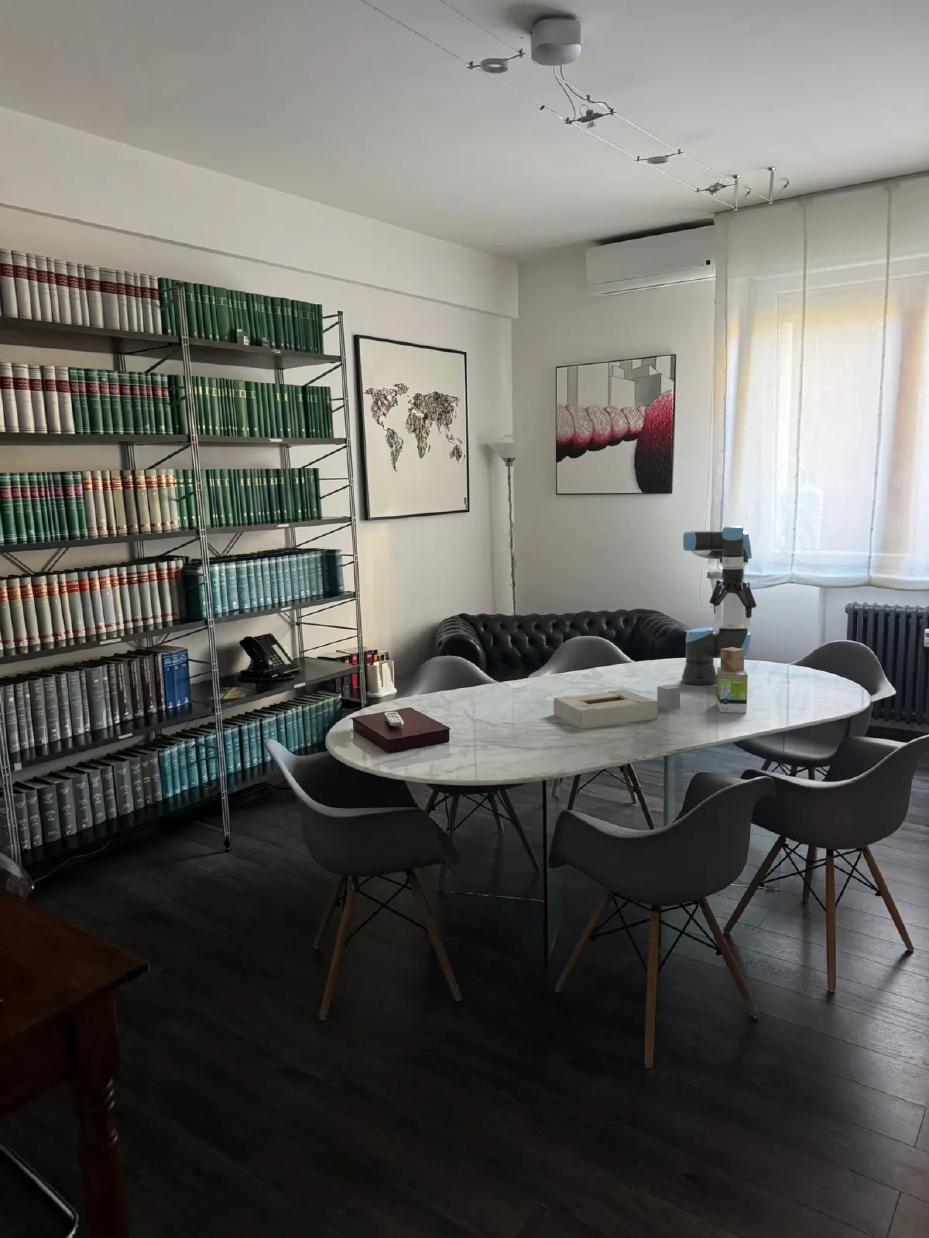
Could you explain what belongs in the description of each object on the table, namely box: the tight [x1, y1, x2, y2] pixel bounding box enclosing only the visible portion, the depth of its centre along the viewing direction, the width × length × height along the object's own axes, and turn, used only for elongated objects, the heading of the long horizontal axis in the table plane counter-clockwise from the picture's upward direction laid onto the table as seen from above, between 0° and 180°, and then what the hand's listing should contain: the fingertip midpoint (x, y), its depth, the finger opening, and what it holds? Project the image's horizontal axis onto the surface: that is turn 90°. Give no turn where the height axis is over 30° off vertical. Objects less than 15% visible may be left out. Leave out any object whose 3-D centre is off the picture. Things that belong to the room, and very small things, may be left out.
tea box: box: [716, 666, 749, 714], centre depth 324 cm, size 15×10×15 cm, turn 169°
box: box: [553, 688, 659, 730], centre depth 319 cm, size 23×8×32 cm
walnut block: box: [720, 647, 745, 672], centre depth 323 cm, size 6×6×8 cm
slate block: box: [656, 684, 681, 710], centre depth 330 cm, size 6×6×8 cm
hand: (732, 624), depth 321 cm, fingers open, 13 cm apart
